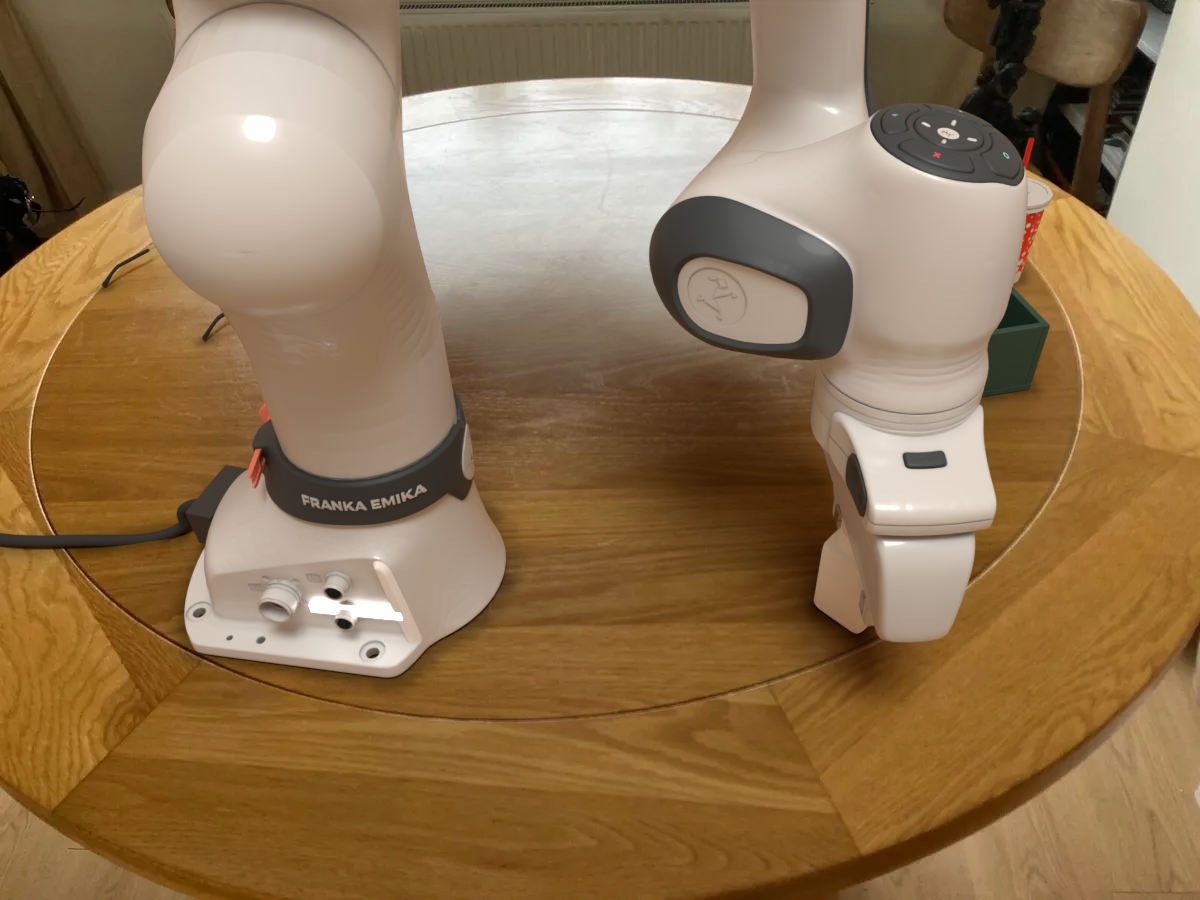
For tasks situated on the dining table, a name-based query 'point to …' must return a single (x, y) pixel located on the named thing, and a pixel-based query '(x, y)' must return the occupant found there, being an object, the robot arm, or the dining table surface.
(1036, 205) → the beverage cup
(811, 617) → the dining table surface
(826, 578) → the pepper shaker
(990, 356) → the bin
